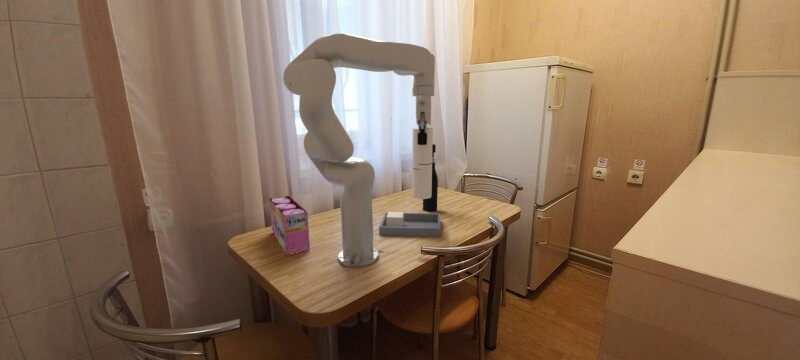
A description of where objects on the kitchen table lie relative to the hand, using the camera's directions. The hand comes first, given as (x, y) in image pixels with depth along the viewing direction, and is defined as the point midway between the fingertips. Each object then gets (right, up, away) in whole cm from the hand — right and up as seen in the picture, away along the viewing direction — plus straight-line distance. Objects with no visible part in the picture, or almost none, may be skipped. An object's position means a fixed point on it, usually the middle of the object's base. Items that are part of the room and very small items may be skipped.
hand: (422, 143), depth 114 cm
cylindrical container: (0, -19, +5) cm, 20 cm away
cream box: (-10, -31, +8) cm, 34 cm away
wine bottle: (+5, -28, +29) cm, 40 cm away
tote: (-4, -32, +8) cm, 34 cm away
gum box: (-47, -35, -1) cm, 59 cm away
